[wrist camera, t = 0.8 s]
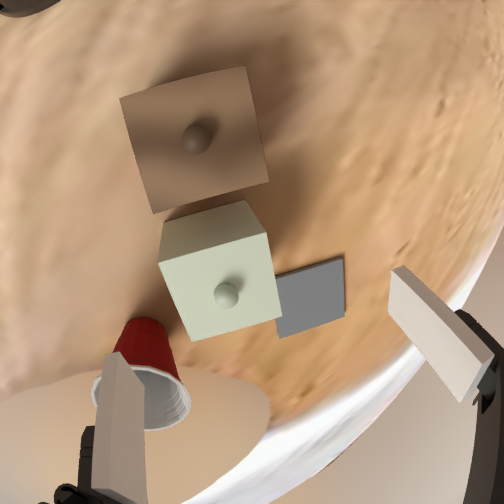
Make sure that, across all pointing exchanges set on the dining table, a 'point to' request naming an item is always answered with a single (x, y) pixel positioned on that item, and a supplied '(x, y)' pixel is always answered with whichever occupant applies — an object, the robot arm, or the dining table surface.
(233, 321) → the sage cover
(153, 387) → the plastic cup
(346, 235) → the dining table surface
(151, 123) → the walnut cover
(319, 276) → the grey square plate
